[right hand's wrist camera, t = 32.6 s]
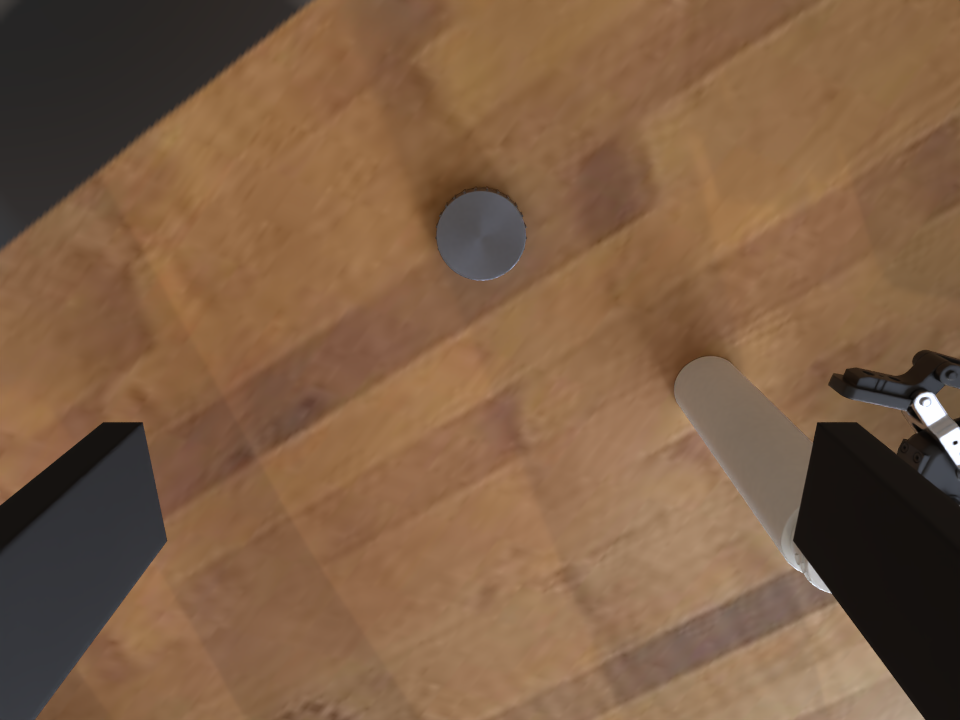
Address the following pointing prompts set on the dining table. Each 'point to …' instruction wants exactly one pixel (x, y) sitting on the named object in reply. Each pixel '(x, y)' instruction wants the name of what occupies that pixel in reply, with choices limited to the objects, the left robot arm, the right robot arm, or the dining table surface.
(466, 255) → the lid
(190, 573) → the dining table surface
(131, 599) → the dining table surface
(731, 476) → the jar
